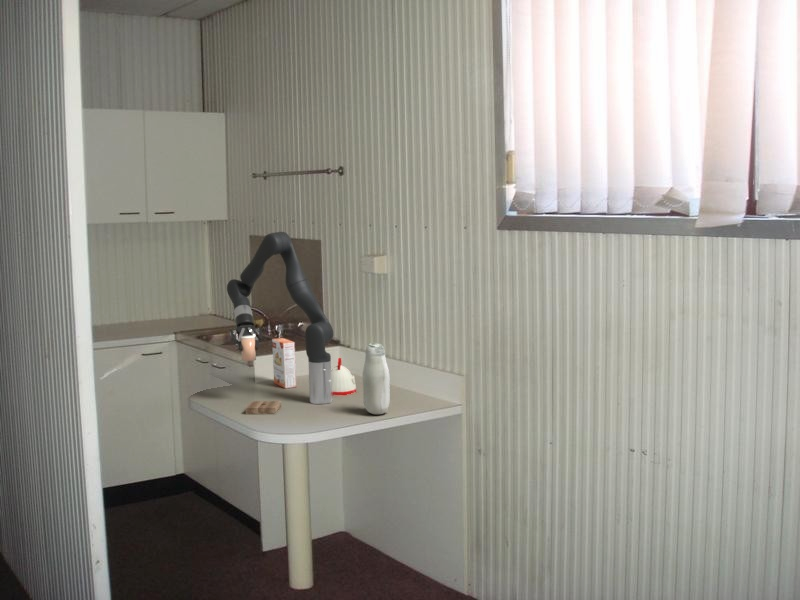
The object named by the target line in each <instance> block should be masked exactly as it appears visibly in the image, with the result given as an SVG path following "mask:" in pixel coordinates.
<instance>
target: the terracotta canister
mask: <svg viewBox="0 0 800 600" xmlns="http://www.w3.org/2000/svg"><path fill="white" fill-rule="evenodd" d="M241 344H242V352H241V361H243V362H252V361H256V359H257V356H256V355H257V354H256V351H257V350H255V336H254V335H246V336H241Z"/></svg>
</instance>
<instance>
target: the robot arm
mask: <svg viewBox="0 0 800 600" xmlns="http://www.w3.org/2000/svg"><path fill="white" fill-rule="evenodd" d="M257 248H258V249H257V250H256V251H255V252H256V253H255V254H254V256H253V257H252V259H251V260H250V261H249V263H248V264H247V266H246V267H245V268H244V269H243V270H242V272H240V275H239V276H240V277H239V278H240V280H239V279H233V278H232V279H231V280H229V281H228V283H227V286H226V290H227V291H226V292H227V295H228V297H229V299H230V301H231V303H232V304H233V310H234V321H235V329H234V330H233V329H230V330H229V336H230V339H231V342H232V344H233V345H235V344H236V345H237V348H238V349H237V350H238V351H240V352H241V353H242V344H241V336H246V335H254V336H255V350H256V351H258V350H259V349H260V344H259V343H261V342H263V327H259V328H256V326H255V322H254V321H255V320H254V317H253V316H254V315H253V311H252V309H251V303H250V298H248V297H250V296H251V293H252V290H253V289H254V285H255V283H256V282H257V281H258V279H259V278H260V277H261V276H262V274H263V273H264V270H265V264H266V262H267V261H268V260H269V259H270V258H271V257H272V256H274V255H275V256H276V255H280V256H281V259H282V260H283V261H282V262H283V263H284V265H285V286H286V289H287V291H288V292H289V296H290V298H291V299H292V301H293V302H294V303H295V304H296V306H297V307H298V308H300V309H301V311H303V312H304V313H305V314H306V316H307V317H308V319H309V321H310V324H309V325H308V326H307V327H306V328H305V333H304V334H305V335H304V341H305V342H304V343H305V344H304V345H305V352H306V357H307V358H308V389H309V392H308V393H309V397H308V398H309V403H310V404H314V405H315V404H316V405H323V404H331V403H332V401H333V400H334V399H333V396H334V395H332V378H331V370H332V362H331V359H332V358H331V354H330V353H329V352H327V350H326V347H325V346H326V345H325V344H328V343H330V342H331V341H332V340H333V338H334V330H333V329H334V328H333V326H332V324H331V323H330V320H329V319H328V318H327V316H326V314H325V313H324V311H323V309H322V308H321V305H320V304H319V301H318V300H317V297H316V295H315V294H314V291H313V289H312V287H311V284H310V281H309V279H308V278H307V276H306V274H305V272H304V270H303V267H302V265H301V262H300V260H299V258H298V255H297V251H296V249H295V247H294V243H293V240H292V239H291V237H290V236H289V234H288V233H287V232H285V231H276V232H271V233H270V232H269V233H267V234H266V235H265V236H264V238H263V239H262V241H261V243H260V245H259V246H258V247H257ZM256 333H257V334H258V337H257V336H256ZM236 335H238V338H236Z"/></svg>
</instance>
